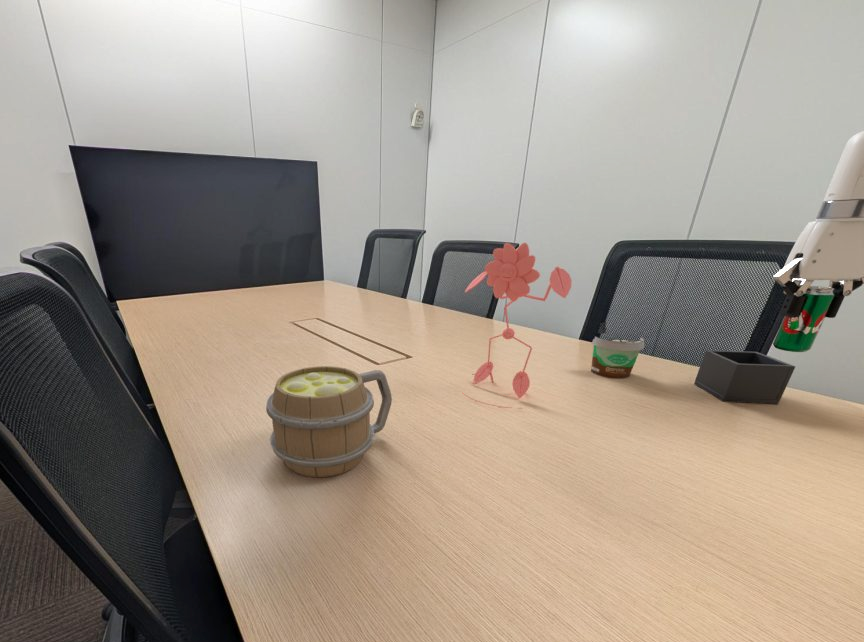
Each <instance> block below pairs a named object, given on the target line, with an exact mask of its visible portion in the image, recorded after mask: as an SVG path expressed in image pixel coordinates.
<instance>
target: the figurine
mask: <svg viewBox="0 0 864 642" xmlns="http://www.w3.org/2000/svg"><path fill="white" fill-rule="evenodd" d="M492 255H493V256H492V257H493V259H494V260H492V261H490V262H488V263H487V264H486V265H485V266H484V271H483V272H481V273H479V275H476V277H475V278H474V279H473V280H472V281H471V282H470V283H469V284H468V285H467V287H466V289H465V290H464V294H466V293H468V292H469V291H471V290H472V289H474V288H475V287H476V286H478V285H479V284H481V282H482V281H484V279H485V278H486V277H487V279H486V284H487V286H488V287H493V290H492V291H493V296H494V297H495V299H500V300H504V299H509V300H510V301H509V302H508V303H506V304H505V305H504V307H503V310H504V311H503V312H504V316H505V317H504V318H505V324H506V328H505V329H503V330H502V332H501V334H499V335H495V336H492V337H490V338H489V340H488V354H487V358H488V359H487V361H486V362H485V363H482V364H481V365H480V367H478V368H477V370H476V372H475V373H473V374H471V376H472V375H474V377H473V382H472V384H473V385H476V384H478V383H480V382H484V381H485V380H486V379H487V378H488V377H490V381H491V383H494V377H493V370H494V363H493V362H492V361H490V358H491V346H492V345H491V343H492V340H493V339H496V338H499V337H502V338H503V339H505V340H511V339H514V340H516V341H518V342H519V343H521V344H522V345H525V346H526V347H528V348H529V352H528V354H527V357H526V359H525V363H524V366H523V369H522V371H521V370H520V371H518V372H516V373H515V375H514V377H513V379H512V383H511V385H512V389H513V391H514V393H515V395H516V396H517V397H518V399H521V398H523V396H524V395H525V394H526V393H527V392H528V390H529V387H530V385H531V380H530V378H529V375H528V373H527V372H525V371H526V367H527V364H528V362H529V359H530V356H531V353H532V350H533V347H532V346H531V345H530V344H528V343H526V342H525V341H523V340H520V339H519V338H517V337H516V336H515V333H516V332H515V329H513V328H511V327H510V326H509V325H510V324H509V316H508V310H507V308H508V307H509V306H510V305H512V303H514V302H517V300H518V299H520V298H522V297H523V298H529V299H533V300H538V301H542V302H546V300H547V299H548V296H549V293H550V292H551V289H552V290H553V292H554V293H556V294H557V295H559V296H560V297H561V298H564V299H566V297H567V296H568V295H569V292H570V290H571V289H572V278H571V275H570V274H569V273H568V272H567V271H566V270H565V269H564V268H561V267H560V266H555V267H554V269H553V270H552V271H551V273H550V277H549V285H548V287H547V289H546V291H545V294H544V297H539V296H535V295H530V294H529V293H530V291H531V289H530V287H531V286H530V285H529V284H532V283H535V282H536V281H537V280H538V279H539V278H540V277H541V275H540V274H541V273H540V271H538V270H537V269H534V266H535V263H536V256H535V255H534V254H532V255H530V247H529V245H528V243H527V242H522V243H521V244H520V245H519V246H518V247H517V248H515V246H514V245H513V244H511V243H509V242H505V243H504V244H503V248H502V247H500V248H499V247H497V248H494V250H493V251H492ZM487 275H488V276H487ZM504 294H505V295H504ZM463 395H464V396H465V397H466V398H469V399H471V400H473V401H474V402H475V403H479V404H484V405H488V406H493V407H497V408H499V409H511V406H510V407H509V406H500V405H495V404H490V403H486V402H482V401H480V400H477V399H474V398H471V397H470V396H468V395H466V394H465V393H463ZM520 409H524V408H523V407H519V410H520Z"/></svg>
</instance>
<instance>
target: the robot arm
mask: <svg viewBox="0 0 864 642" xmlns="http://www.w3.org/2000/svg"><path fill="white" fill-rule="evenodd" d="M772 279H773V280H774V281H775V282H776V283H777V284H779V286H780V288H781V289H782V290H783V294H784V295H785V298H784V300H783V303H782V305H781V308H780V312H779V315H780V316H783V317H784V316H787V317H791V318H796V317H798V315H799V313H800V311H801V308H802V306H803V303H804V301H805V299H806V298H805V296H802V295H803V294H804V293H805V291H806V290H807V289H808V288H809V286H812V284H813V283H814V281H829V284H828V285H829V286H828V287H830V288H834V289H835V290H834V293H835V297H834V300H833V302H832V304H831V306H830V308H829V310H828V313H827V315H826V317H825V318H829V319H835V318H836V316H837V314H838V312H839V309H840V308H841V306H842V304H843V302H844V299H845V297H849V296H851V295H852V293H853V292H854V291H855V290H857V289H858V288H860V287H863V285H864V130H862V131H859V132H857V133H856V134H854V135H852V136H851V137H850V138H849V139H848V141H847V142H846V144H845V146H844V148H843V150H842V153H841V156H840V158H839V161H838V163H837V166H836V168H835V170H834V173H833V176H832V177H831V179H830V183H829V185H828V188H827V190H826V193H825V195H824V198H823V200H822V203H821V205H820V208H819V210H818V212H817V215H816V218H815V220H814V221H809V222H808V223H807V224H806V225H805V227H804V228H803V230H802V231H801V233H800V234H799V236H798V237H797V239H796V241H795V242H794V245H793V246H792V248H791V249H790V252H789V254H788V257H787V259H786V261H785V263H784V266H783V267H782V268H781V269H780V270H779V271H778V272H777V273H775V274H774V275H773V277H772Z"/></svg>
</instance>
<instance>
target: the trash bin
mask: <svg viewBox="0 0 864 642" xmlns="http://www.w3.org/2000/svg"><path fill="white" fill-rule="evenodd" d="M795 369H796V366H795V365H792V364H791V363H788V362H784V361H782V360H780V359H777V358H774V357H772V356H770V355H766V354H764V353H761V352H758V351H746V350H745V351H744V350H743V351H740V350H714V349H713V350H710V349H708V350H707V349H705V351H704V354H703V357H702V359H701V363H700V365H699V368H698V371H697V373H696V377H695V380H694V385H695V386H697V387H698V388H700V389H701V390H703V391H704V392H707V393H708V394H710V395H711V396H713V397H715V398H717V399H718V400H720V401H722V402H725V403H728V402H729V403H748V404H749V403H750V404H766V405H779V403H780V401H781V400H782V397H783V395H784V393H785V391H786V388H787V386H788V384H789V382H790V380H791V378H792V375H793V373H794V372H795Z"/></svg>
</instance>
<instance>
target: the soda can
mask: <svg viewBox="0 0 864 642" xmlns="http://www.w3.org/2000/svg"><path fill="white" fill-rule="evenodd" d="M834 290H835V289H834V288H830V287H829V286H818V285H817V286H816V285H810V286H809V288H808V289H807V290H806V291H805V293H804V294H803V295H802V296H805V298H806V299H805V301H804V303H803V306H802V308H801V311H800V313H799V315H798V317H796V318H791V317H787V316H783V318H782V321H781V323H780V326H779V329H778V331H777V333H776V336H775V338H774V340H773V342H772V345H773V347H774V348H775V349H777V350H780V351H785V352H792V353H806V352H808V351H811V349H812V347H813V345H814V343H815V341H816V339H817V336H818V334H819V332H820V330H821V328H822V326H823V323H824V321H825V319H826V318H827V317H826V315H827V313H828V310H829V308H830V306H831V304H832V302H833V300H834V297H835V293H834Z"/></svg>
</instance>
